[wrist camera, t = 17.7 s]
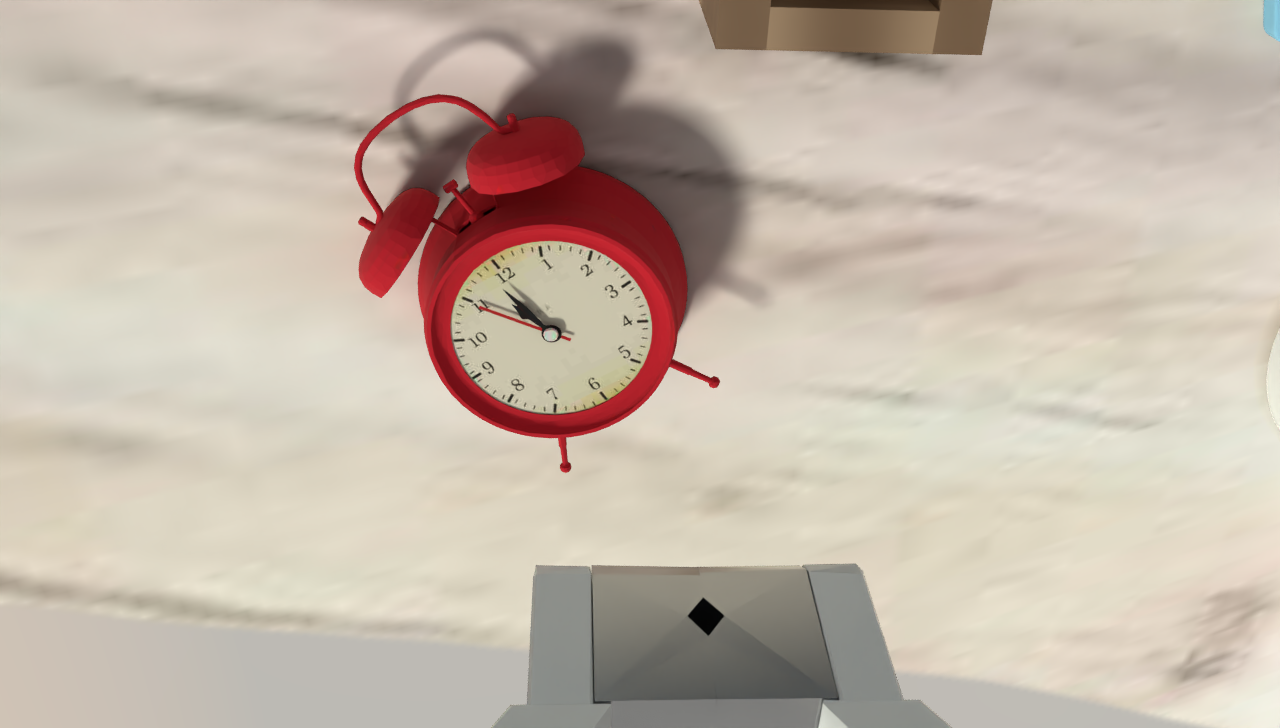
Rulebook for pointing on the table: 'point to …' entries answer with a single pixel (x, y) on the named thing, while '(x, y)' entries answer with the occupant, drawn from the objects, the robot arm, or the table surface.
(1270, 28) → the chair
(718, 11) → the box
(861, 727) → the robot arm
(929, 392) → the table surface
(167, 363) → the table surface
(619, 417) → the alarm clock
